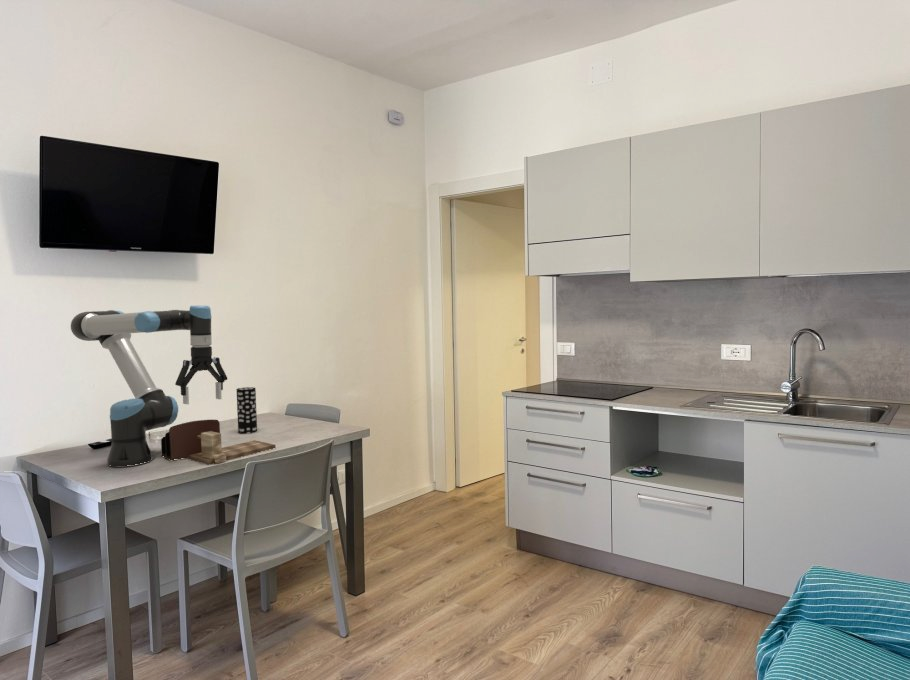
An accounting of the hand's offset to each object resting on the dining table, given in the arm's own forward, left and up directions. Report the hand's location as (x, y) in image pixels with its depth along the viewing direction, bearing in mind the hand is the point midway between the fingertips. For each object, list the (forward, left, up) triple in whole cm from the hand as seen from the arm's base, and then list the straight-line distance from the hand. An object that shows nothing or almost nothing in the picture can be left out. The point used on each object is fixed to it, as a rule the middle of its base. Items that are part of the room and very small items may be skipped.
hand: (202, 401), depth 247 cm
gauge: (0, -3, -22) cm, 22 cm away
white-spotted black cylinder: (+39, +28, -23) cm, 53 cm away
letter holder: (+1, +11, -23) cm, 25 cm away
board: (+11, -2, -22) cm, 25 cm away
